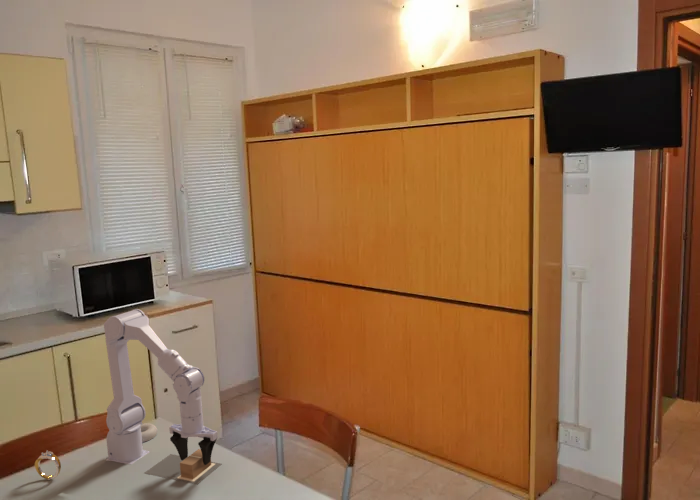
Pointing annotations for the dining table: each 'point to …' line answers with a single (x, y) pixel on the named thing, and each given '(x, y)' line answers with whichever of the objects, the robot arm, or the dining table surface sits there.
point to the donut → (148, 431)
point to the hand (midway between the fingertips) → (195, 460)
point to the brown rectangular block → (193, 465)
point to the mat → (178, 470)
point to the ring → (52, 457)
